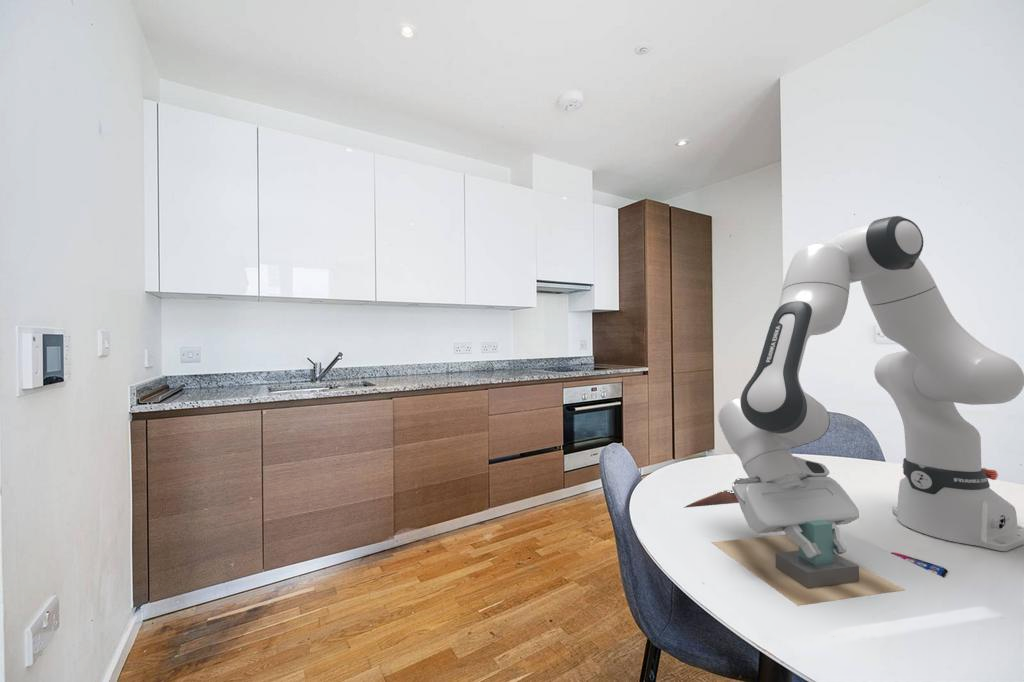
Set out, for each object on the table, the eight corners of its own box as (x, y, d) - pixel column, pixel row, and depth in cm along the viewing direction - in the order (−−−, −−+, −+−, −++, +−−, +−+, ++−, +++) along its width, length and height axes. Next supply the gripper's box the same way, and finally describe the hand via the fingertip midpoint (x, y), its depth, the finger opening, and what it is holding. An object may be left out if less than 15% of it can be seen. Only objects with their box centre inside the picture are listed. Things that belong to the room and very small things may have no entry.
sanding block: (824, 561, 69) (822, 510, 69) (859, 581, 63) (857, 525, 64) (775, 567, 67) (774, 515, 68) (807, 588, 62) (805, 531, 62)
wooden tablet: (725, 485, 109) (765, 491, 101) (726, 493, 109) (766, 499, 101) (674, 510, 93) (716, 519, 86) (676, 519, 93) (718, 529, 85)
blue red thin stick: (865, 575, 67) (891, 550, 75) (865, 579, 67) (891, 553, 75) (929, 598, 61) (949, 568, 69) (929, 603, 61) (949, 572, 69)
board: (797, 540, 80) (797, 532, 80) (905, 599, 61) (905, 589, 61) (711, 549, 76) (711, 542, 76) (798, 615, 58) (797, 605, 58)
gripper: (736, 471, 69) (785, 554, 59) (832, 464, 73) (892, 542, 63) (719, 487, 73) (762, 567, 64) (810, 479, 77) (864, 555, 67)
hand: (828, 554), depth 63 cm, fingers closed on sanding block, 3 cm apart
